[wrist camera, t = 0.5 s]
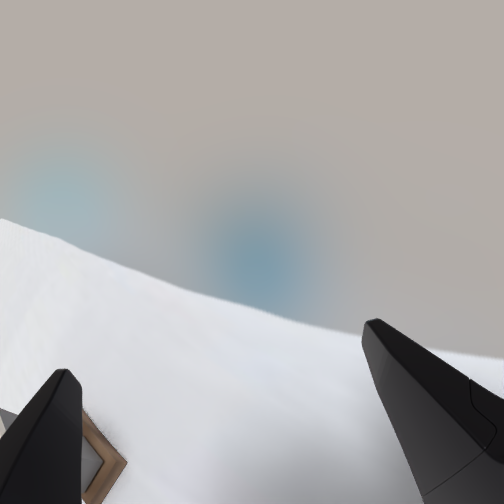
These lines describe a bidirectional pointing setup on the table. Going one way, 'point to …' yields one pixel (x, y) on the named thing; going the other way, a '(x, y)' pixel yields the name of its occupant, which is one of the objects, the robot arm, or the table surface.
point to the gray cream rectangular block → (90, 458)
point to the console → (108, 468)
